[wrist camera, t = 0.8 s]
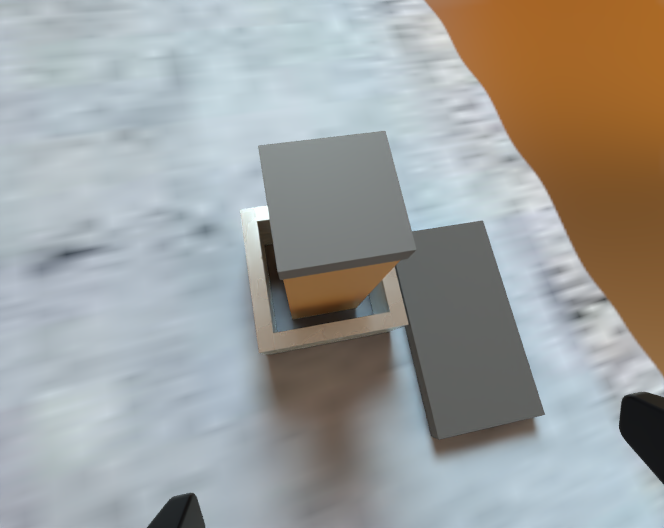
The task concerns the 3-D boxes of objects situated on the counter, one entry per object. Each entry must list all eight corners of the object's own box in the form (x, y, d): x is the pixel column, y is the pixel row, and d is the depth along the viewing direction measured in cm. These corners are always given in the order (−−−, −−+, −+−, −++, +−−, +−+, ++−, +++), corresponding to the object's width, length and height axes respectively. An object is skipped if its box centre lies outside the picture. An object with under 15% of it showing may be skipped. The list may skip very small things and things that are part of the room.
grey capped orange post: (357, 309, 22) (416, 249, 11) (290, 321, 22) (277, 272, 10) (344, 246, 23) (384, 130, 12) (280, 256, 23) (258, 145, 11)
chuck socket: (390, 331, 22) (408, 324, 18) (266, 355, 21) (258, 352, 17) (364, 218, 24) (376, 190, 20) (250, 235, 23) (239, 209, 19)
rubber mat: (531, 411, 21) (545, 414, 20) (431, 435, 21) (438, 439, 19) (474, 227, 24) (482, 220, 23) (384, 241, 24) (388, 235, 22)
